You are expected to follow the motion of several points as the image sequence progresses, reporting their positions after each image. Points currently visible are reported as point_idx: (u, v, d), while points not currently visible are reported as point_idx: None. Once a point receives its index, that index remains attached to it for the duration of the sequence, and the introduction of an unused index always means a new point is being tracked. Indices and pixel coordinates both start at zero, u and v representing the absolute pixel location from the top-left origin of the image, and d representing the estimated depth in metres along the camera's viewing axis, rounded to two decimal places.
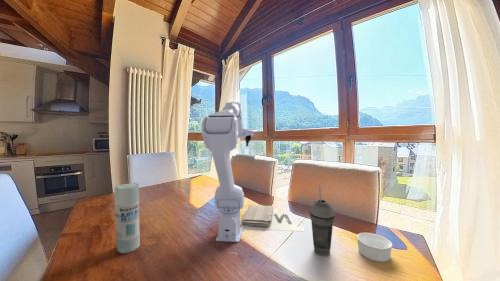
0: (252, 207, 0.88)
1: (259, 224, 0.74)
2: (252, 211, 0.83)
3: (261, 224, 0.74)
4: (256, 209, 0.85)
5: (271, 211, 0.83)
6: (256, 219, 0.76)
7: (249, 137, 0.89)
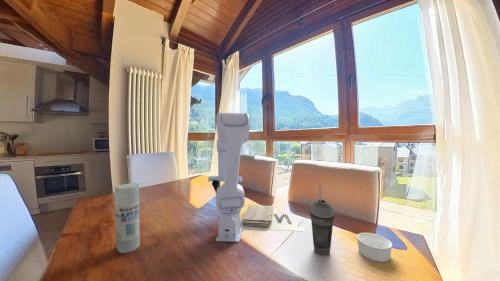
0: (252, 207, 0.88)
1: (259, 224, 0.74)
2: (252, 211, 0.83)
3: (261, 224, 0.74)
4: (256, 209, 0.85)
5: (271, 211, 0.83)
6: (256, 219, 0.76)
7: None
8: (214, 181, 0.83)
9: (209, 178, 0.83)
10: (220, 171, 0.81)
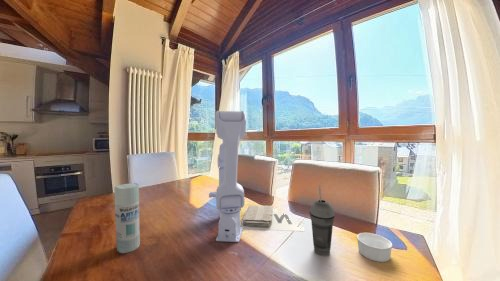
0: (252, 207, 0.88)
1: (260, 224, 0.74)
2: (252, 211, 0.83)
3: (262, 224, 0.74)
4: (256, 209, 0.85)
5: (271, 211, 0.83)
6: (257, 219, 0.76)
7: None
8: None
9: (210, 194, 0.83)
10: None
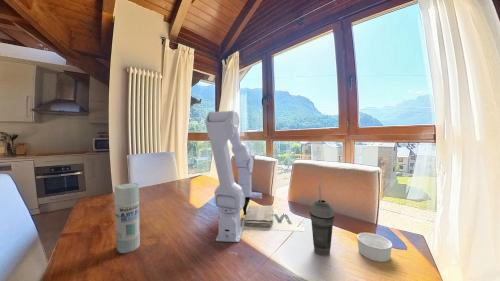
0: (252, 207, 0.87)
1: (261, 224, 0.74)
2: (253, 211, 0.83)
3: (263, 224, 0.74)
4: (257, 209, 0.85)
5: (272, 211, 0.83)
6: (258, 219, 0.76)
7: None
8: None
9: None
10: None
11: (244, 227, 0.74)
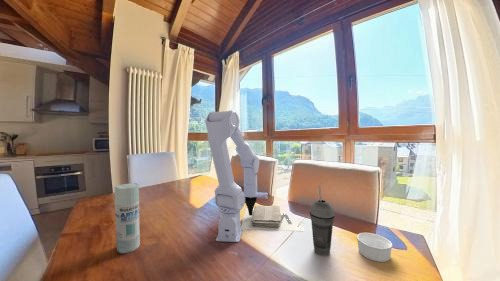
0: (259, 207, 0.87)
1: (269, 224, 0.74)
2: (260, 211, 0.82)
3: (271, 224, 0.74)
4: (263, 209, 0.85)
5: (279, 211, 0.83)
6: (266, 219, 0.75)
7: None
8: None
9: None
10: (246, 188, 0.80)
11: (244, 227, 0.74)
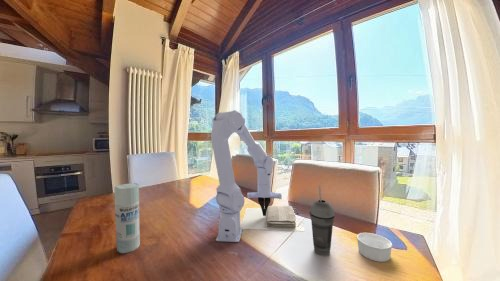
0: (271, 207, 0.87)
1: (285, 225, 0.73)
2: (273, 212, 0.82)
3: (287, 225, 0.73)
4: (277, 210, 0.84)
5: (292, 211, 0.82)
6: (281, 220, 0.75)
7: None
8: None
9: (248, 195, 0.82)
10: (260, 188, 0.80)
11: (244, 227, 0.74)
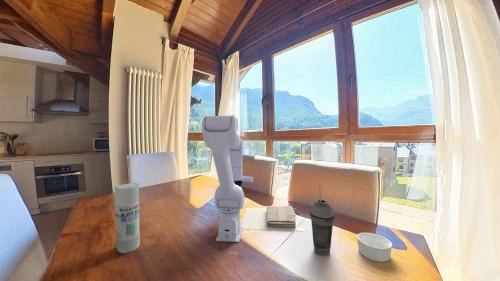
0: (271, 207, 0.87)
1: (285, 225, 0.73)
2: (274, 212, 0.82)
3: (287, 225, 0.73)
4: (277, 210, 0.84)
5: (293, 211, 0.82)
6: (281, 220, 0.75)
7: None
8: None
9: None
10: None
11: (244, 227, 0.74)
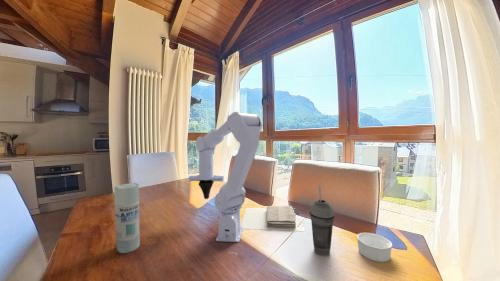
0: (271, 207, 0.87)
1: (285, 225, 0.73)
2: (274, 212, 0.82)
3: (287, 225, 0.73)
4: (277, 210, 0.84)
5: (293, 211, 0.82)
6: (281, 220, 0.75)
7: None
8: None
9: (190, 178, 0.80)
10: (201, 170, 0.78)
11: (244, 227, 0.74)
